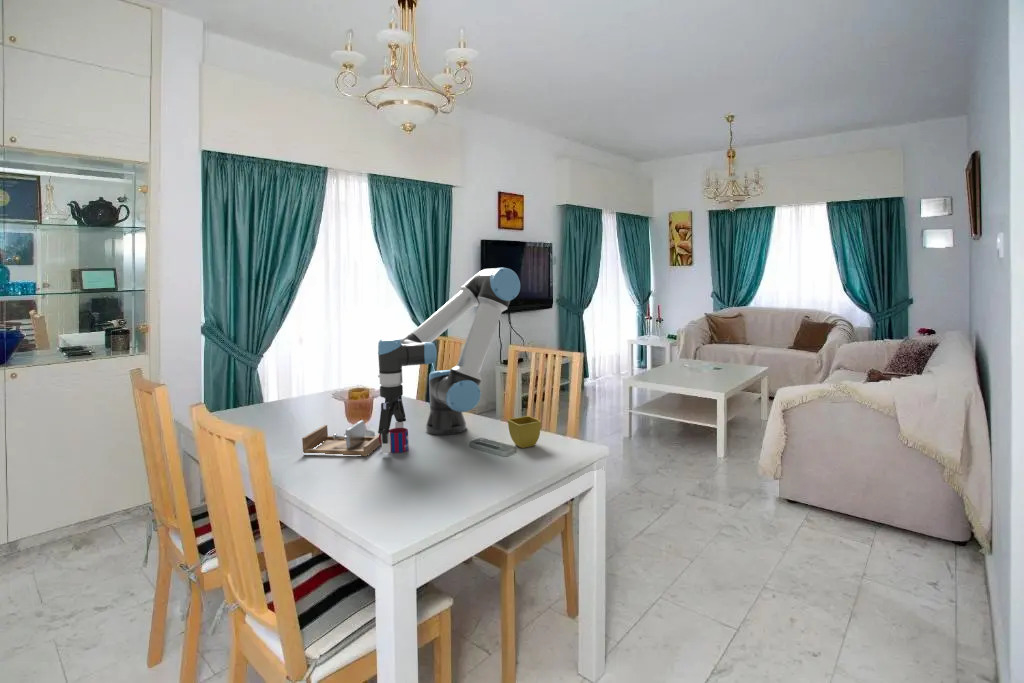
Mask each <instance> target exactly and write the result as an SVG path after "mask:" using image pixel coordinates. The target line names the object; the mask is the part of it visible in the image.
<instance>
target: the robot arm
mask: <svg viewBox="0 0 1024 683" xmlns="http://www.w3.org/2000/svg"><path fill="white" fill-rule="evenodd" d="M459 290H460V291H459V292H458V293H456V294H455V295H454V296H452V298H450V299H449V300H448V301H447V302H445V304H444V305H442V306H441V307H440V308H439V309H437V311H435V312H434V313H432V315H431V316H429V317H428V318H427V319H426V320H425V321H424V322H422V323H421V324H420V325H419V326H418V327H417V328H415V329H414V330H413V331H411V332H410V334H408V335H407V336H406V337H405V338H395V337H394V338H382V339H380V340H379V341H378V343H377V345H378V346H377V354H378V355H377V356H378V370H379V371H378V373H379V374H378V375H377V377H378V378H379V385H380V386H379V396H380V397H381V398H384V402H381V403H380V415H379V416H380V417H379V421H378V422H379V423H378V430H377V433H378V435H379V434H381V438H382V445H381V453H383V454H388V453H389V454H390V453H392V452H391V444H390V433H389V430H390V429H391V424H392V418H393V417H394V419H395V421H396V422H395V423H394V425H395V426H394V428H405V427H404V426H405V425H404V422H407V418H406V417H407V416H406V413H405V408H404V403H403V398H402V396H404V394H403V393H404V391H403V390H404V388H403V387H404V386H403V367H408V366H409V367H410V366H421V365H429V364H435V362H436V360H437V356H438V355H437V353H438V352H437V348H436V345H435V343H433V342H434V341H435V340H436V339H437V338H438V337H440V336H441V335H442V334H443V333H444V332H446V331H447V330H448V329H449V328H450V327H451V326H452V325H453V324H454V323H456V322H457V321H459V319H461V317H463V316H464V315H465V314H466V313H467V312H468V311H470V309H472V308H473V307H478V308H477V311H476V313H475V316H474V318H473V321H472V324H471V327H470V329H469V332H468V335H467V337H466V341H465V343H464V345H463V347H462V351H461V352H460V356H459V359H458V362H457V364H456V365H455V366H453V367H451V369H443V370H435V371H434V370H433V371H431V372H430V373H429V375H428V386H429V387H428V389H429V392H428V393H429V413H428V417H427V421H426V424H425V428H426V430H425V431H426V432H427V433H428V434H431V435H437V436H438V435H439V436H444V435H445V436H448V435H455V434H459V433H462V432H464V431H466V430H467V422H466V420H465V417H464V415H463V413H467V412H470V411H471V410H472V411H473V409H474V408H476V407H477V406H478V404H479V403H480V400H481V396H482V392H481V389H480V385H481V382H482V377H481V375H480V372H481V370H482V367H483V364H484V361H485V358H486V356H487V353H488V351H489V347H490V345H491V343H492V340H493V338H494V334H495V331H496V329H497V326H498V324H499V320H500V318H501V316H502V313H503V312H505V311H506V310H508V308H509V305H510V303H511V301H512V300H514V299H515V298H516V297H517V296H518V295H519V293H520V292H521V281H520V278H519V276H518V274H517V273H516V272H515V271H514V270H512V269H511V268H509V267H508V268H507V267H504V266H503V267H494V268H493V267H492V268H490V267H489V268H483V269H482V270H479V272H476V274H474V275H473V276H472V277H471V278H470V279H469V280H467V281H466V282H465V283H464V284H463V285H461V287H460V289H459Z"/></svg>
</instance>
